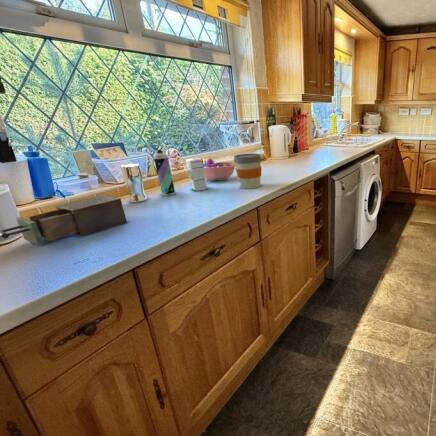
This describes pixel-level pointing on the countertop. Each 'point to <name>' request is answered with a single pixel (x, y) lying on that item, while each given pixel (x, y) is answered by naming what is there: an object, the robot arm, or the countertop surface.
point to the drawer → (44, 227)
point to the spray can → (164, 173)
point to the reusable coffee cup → (248, 170)
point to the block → (43, 219)
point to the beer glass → (134, 182)
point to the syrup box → (196, 174)
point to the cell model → (218, 170)
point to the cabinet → (95, 213)
